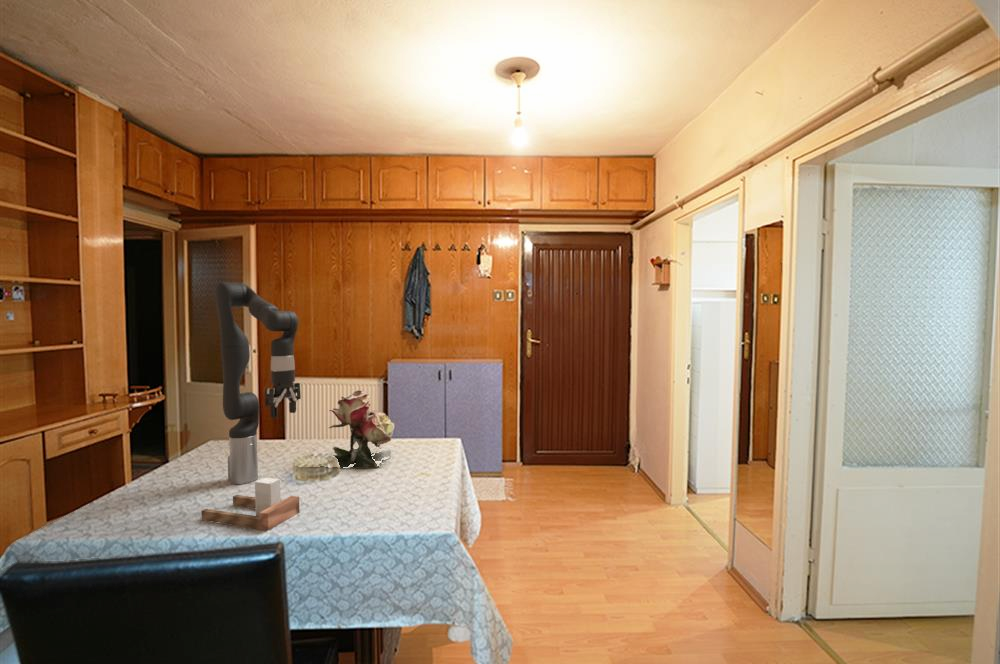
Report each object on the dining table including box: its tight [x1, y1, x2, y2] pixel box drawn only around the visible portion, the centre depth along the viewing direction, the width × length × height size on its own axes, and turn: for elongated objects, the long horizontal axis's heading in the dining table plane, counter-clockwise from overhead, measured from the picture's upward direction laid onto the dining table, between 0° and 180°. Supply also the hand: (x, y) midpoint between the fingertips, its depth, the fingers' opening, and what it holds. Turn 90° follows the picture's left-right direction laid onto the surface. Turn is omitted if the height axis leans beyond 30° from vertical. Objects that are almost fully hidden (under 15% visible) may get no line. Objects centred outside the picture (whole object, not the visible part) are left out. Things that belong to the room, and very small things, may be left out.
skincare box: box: [254, 477, 282, 517], centre depth 142 cm, size 6×4×12 cm
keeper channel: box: [200, 494, 300, 531], centre depth 144 cm, size 25×13×5 cm, turn 74°
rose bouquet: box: [328, 389, 396, 469], centre depth 201 cm, size 26×29×30 cm
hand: (283, 415), depth 160 cm, fingers open, 8 cm apart
